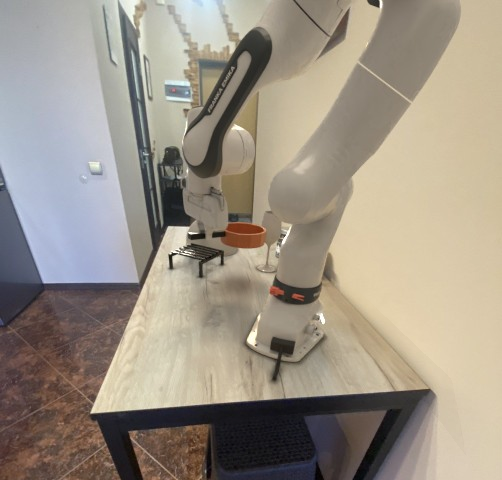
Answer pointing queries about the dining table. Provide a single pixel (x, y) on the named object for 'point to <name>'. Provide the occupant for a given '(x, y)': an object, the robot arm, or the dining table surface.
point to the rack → (194, 249)
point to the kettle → (209, 242)
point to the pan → (237, 235)
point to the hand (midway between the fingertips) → (205, 237)
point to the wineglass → (270, 236)
